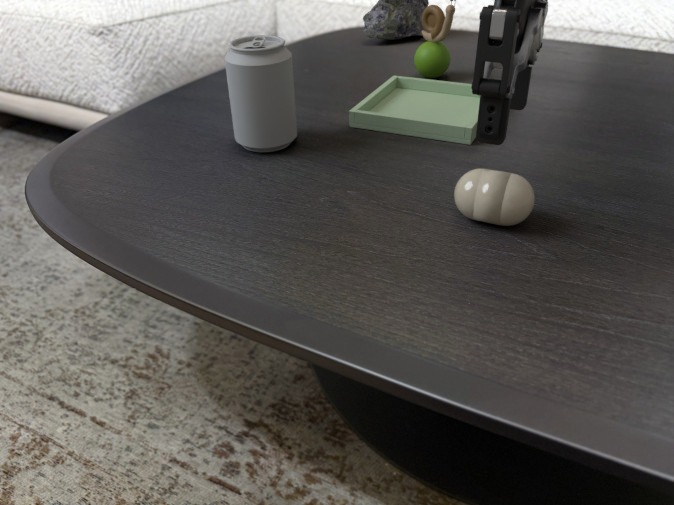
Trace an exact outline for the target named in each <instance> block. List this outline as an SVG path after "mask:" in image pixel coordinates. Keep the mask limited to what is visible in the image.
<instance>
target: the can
mask: <svg viewBox="0 0 674 505" xmlns="http://www.w3.org/2000/svg"><path fill="white" fill-rule="evenodd" d="M285 45H286V40H285V39H284V38H283V37H281V36H276V35H270V34H269V35H268V34H263V35H262V34H261V35H260V34H259V35H257V34H256V35H248V36H243V37H238V38H235V39H233V40H231V41H229V43H228V47H229V50H228V52H227V54H226V55H225V57H224V66H225V74H226V82H227V88H228V89H227V90H228V97H229V105H230V112H231V120H232V128H233V135H234V140H235V142H236V143H237V144H238V145H240V146H242V147H243V148H244V149H245V150H246V151H250V152H253V153H254V152H255V153H272V152H277V151H280V150H283V149H285V148H287V147H290V145H291V144H292V142H293V141H295V139H296V138H297V137H298V124H297V110H296V109H297V108H296V95H295V94H296V92H295V80H294V65H293V53H292V52H291V51H290V50H289V49H288V48H287V47H286V46H285Z"/></svg>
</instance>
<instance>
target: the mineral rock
mask: <svg viewBox="0 0 674 505" xmlns="http://www.w3.org/2000/svg"><path fill="white" fill-rule="evenodd" d="M428 6H430V2H429V0H378V1H377V2H376V3H375V4H374V5H373V7H372V8H371V9H370V10H369V11H367V12H366V13H365V14H364V15H363V16H362V21H363V22H364V25H363V26H364V27H363V33H364V34H365V36H366V37H367V38H369V39H378V40H393V41H397V40H402V39H404V38H407V37H416V36H417V37H423V35H422V30H424V31H426V30H425V29H424V27H423V24H422V15H423V12H424V10H425V9H426V8H427V7H428Z"/></svg>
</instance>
